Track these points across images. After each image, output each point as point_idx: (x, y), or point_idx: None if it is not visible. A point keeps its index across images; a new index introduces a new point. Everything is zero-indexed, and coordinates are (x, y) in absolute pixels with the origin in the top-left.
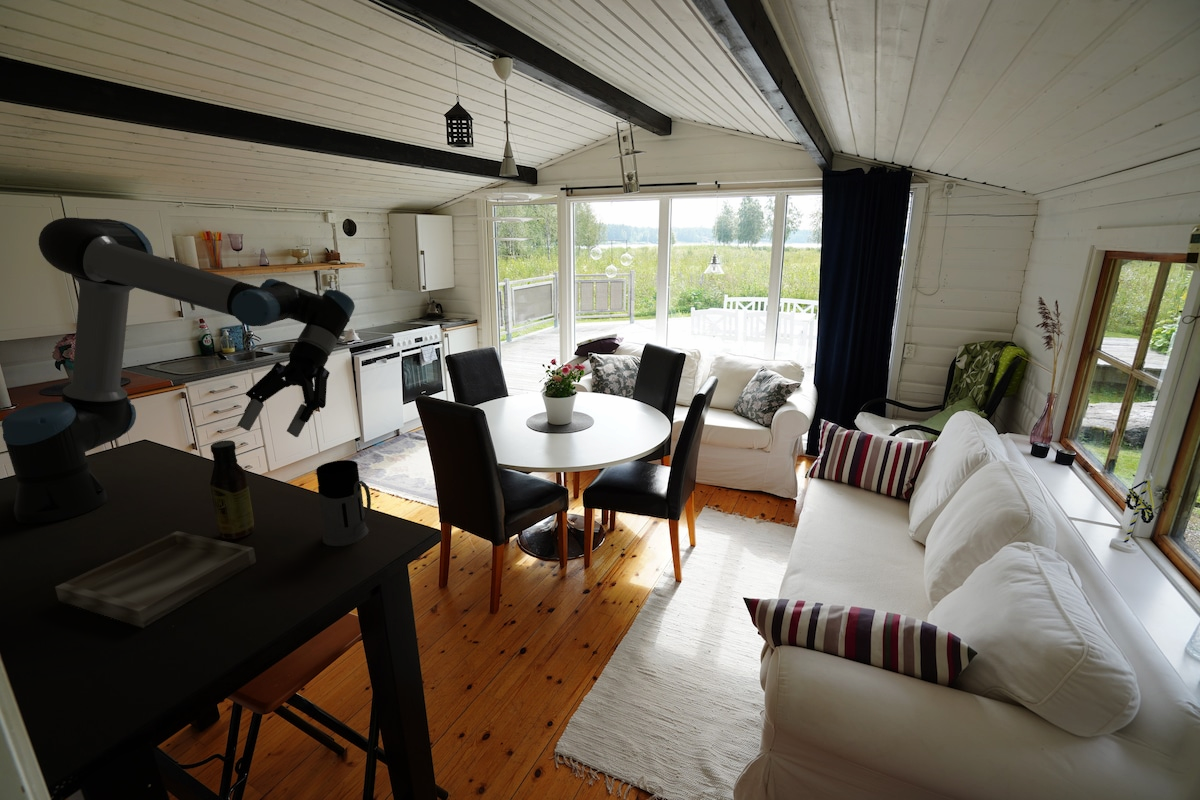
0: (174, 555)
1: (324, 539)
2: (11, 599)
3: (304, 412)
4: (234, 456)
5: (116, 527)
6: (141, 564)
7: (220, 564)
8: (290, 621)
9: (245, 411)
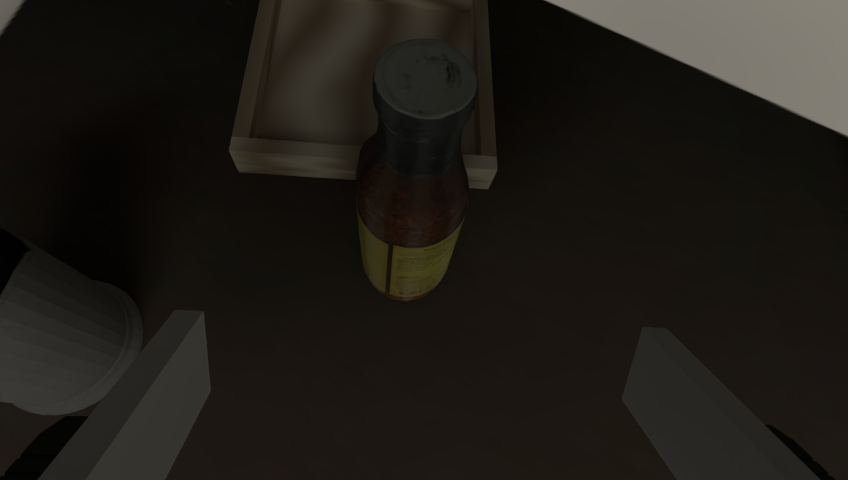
0: None
1: (113, 288)
2: (562, 9)
3: (35, 476)
4: (380, 132)
5: (714, 213)
6: None
7: (250, 84)
8: (11, 38)
9: (738, 401)
